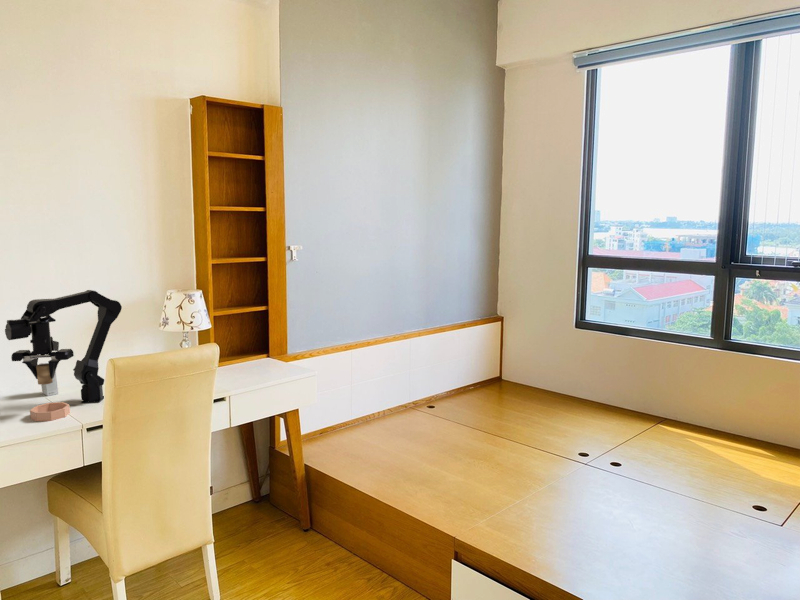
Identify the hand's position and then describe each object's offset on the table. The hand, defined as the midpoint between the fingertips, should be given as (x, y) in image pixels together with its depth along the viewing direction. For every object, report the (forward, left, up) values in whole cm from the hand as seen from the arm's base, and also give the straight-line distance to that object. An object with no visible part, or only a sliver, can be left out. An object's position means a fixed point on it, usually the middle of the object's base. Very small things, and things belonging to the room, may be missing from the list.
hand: (45, 378), depth 224 cm
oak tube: (0, 0, -2) cm, 2 cm away
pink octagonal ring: (-3, +5, -12) cm, 13 cm away
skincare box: (+8, -23, -12) cm, 27 cm away
